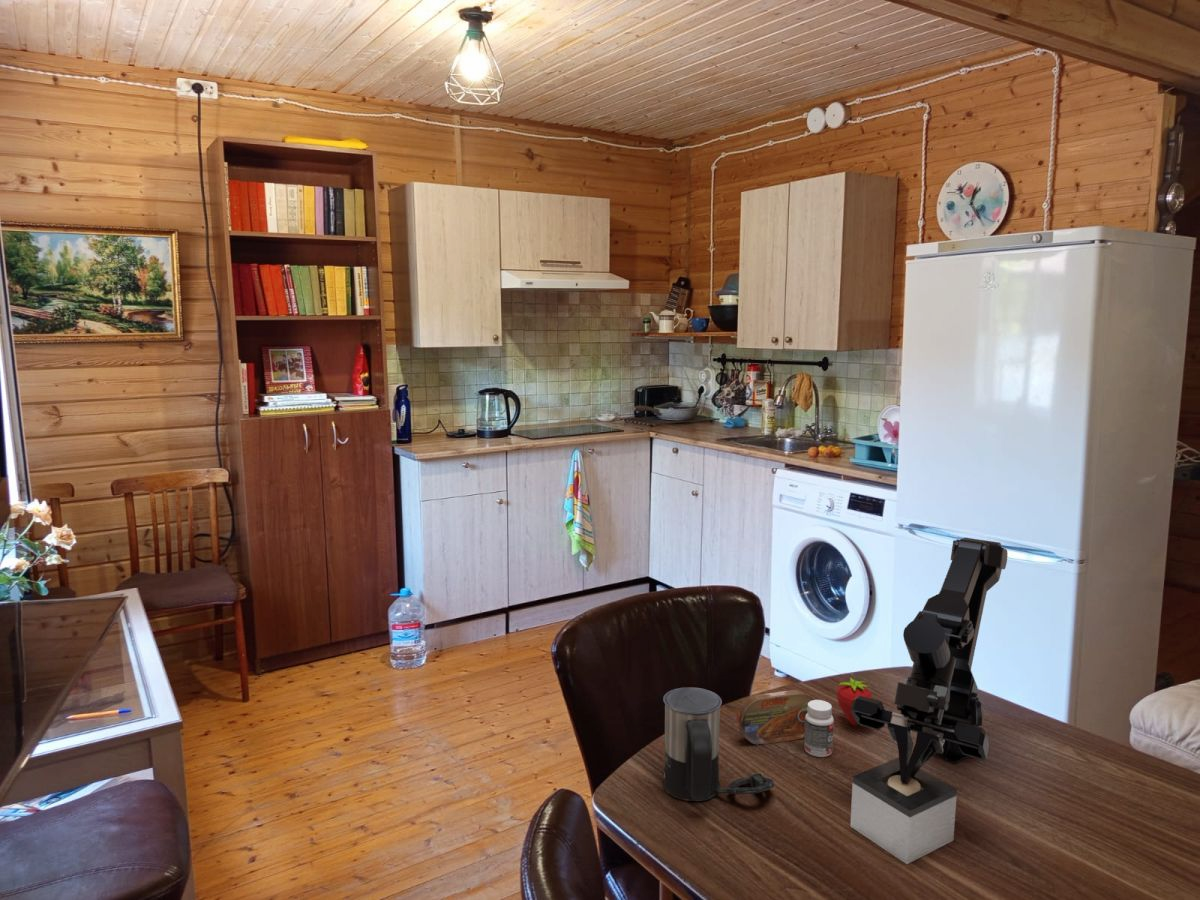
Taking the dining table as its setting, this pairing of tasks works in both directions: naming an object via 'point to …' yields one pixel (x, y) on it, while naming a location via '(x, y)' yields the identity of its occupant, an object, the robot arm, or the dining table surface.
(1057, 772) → the dining table surface
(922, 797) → the collar
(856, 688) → the strawberry
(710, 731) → the milk frother
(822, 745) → the pill bottle
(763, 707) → the tin
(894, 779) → the peg
